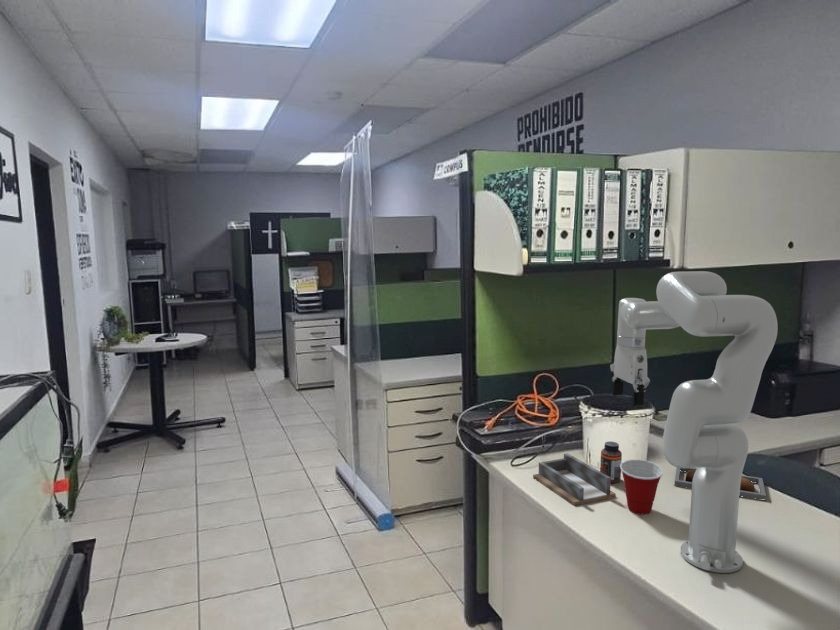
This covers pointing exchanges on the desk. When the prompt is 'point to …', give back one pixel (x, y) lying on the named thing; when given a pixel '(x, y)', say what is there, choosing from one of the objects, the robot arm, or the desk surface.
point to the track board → (574, 480)
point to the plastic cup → (640, 484)
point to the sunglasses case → (744, 486)
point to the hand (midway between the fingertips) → (627, 399)
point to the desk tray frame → (742, 493)
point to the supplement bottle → (611, 461)
